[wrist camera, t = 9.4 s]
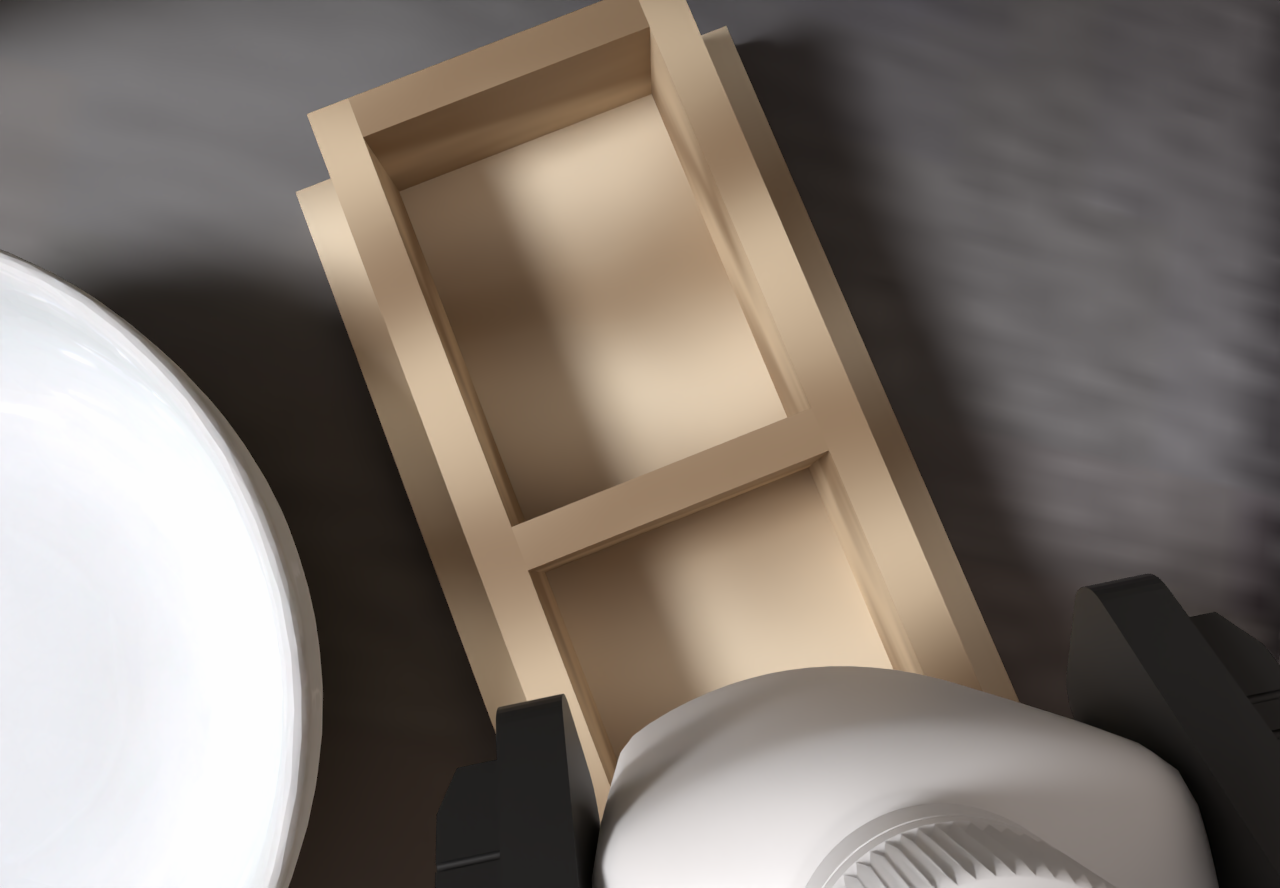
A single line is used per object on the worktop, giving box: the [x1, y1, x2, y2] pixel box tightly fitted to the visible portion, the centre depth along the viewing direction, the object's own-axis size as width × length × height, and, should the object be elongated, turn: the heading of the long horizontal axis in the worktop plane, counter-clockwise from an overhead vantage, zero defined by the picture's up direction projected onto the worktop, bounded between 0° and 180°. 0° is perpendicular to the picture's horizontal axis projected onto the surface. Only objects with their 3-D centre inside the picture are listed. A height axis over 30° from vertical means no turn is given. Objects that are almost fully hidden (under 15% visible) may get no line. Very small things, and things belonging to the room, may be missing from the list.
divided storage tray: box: [296, 0, 1020, 825], centre depth 26 cm, size 22×12×5 cm, turn 22°
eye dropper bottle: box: [592, 666, 1219, 888], centre depth 11 cm, size 4×6×12 cm
